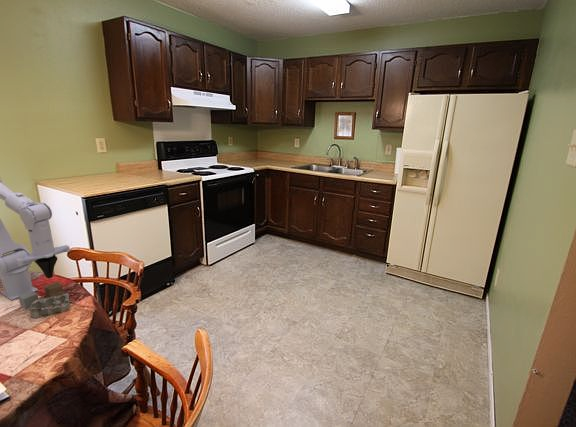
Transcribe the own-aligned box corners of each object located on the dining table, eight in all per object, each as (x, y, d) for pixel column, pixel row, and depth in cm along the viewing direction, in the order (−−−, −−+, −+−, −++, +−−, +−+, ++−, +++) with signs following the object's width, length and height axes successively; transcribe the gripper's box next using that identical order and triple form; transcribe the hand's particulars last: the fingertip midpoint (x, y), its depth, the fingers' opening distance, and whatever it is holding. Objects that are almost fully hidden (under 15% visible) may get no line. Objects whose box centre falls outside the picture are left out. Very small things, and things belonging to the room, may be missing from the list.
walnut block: (46, 296, 112) (44, 286, 111) (58, 291, 115) (56, 281, 114) (51, 299, 110) (49, 289, 109) (64, 294, 113) (62, 284, 112)
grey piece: (29, 321, 98) (26, 310, 97) (33, 308, 104) (30, 298, 103) (69, 311, 103) (67, 301, 102) (71, 300, 110) (69, 290, 108)
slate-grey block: (20, 305, 105) (18, 295, 104) (34, 300, 109) (32, 290, 108) (25, 309, 104) (23, 299, 102) (39, 304, 107) (37, 293, 106)
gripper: (19, 250, 94) (28, 289, 98) (71, 236, 106) (78, 271, 110) (10, 244, 98) (19, 283, 102) (61, 232, 110) (67, 266, 114)
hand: (49, 277), depth 106 cm, fingers closed
